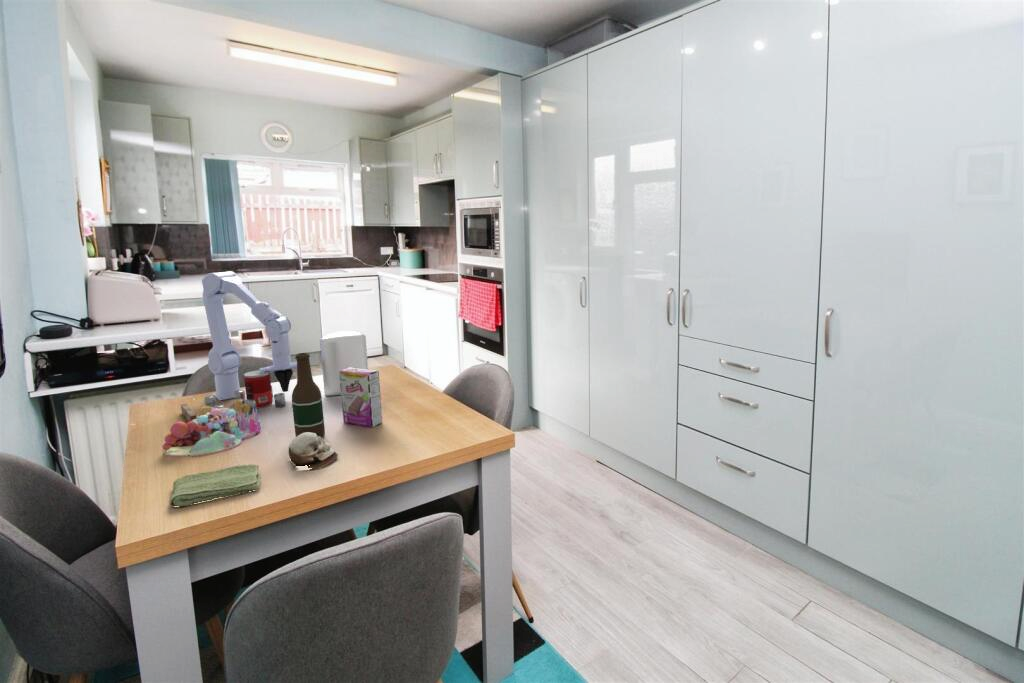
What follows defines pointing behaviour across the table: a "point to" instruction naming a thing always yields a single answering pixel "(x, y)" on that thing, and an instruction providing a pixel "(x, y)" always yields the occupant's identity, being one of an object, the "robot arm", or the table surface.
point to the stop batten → (188, 412)
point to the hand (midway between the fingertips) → (285, 391)
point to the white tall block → (341, 357)
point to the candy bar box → (361, 396)
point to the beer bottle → (307, 400)
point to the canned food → (258, 387)
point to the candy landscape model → (212, 431)
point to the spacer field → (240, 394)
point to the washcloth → (214, 484)
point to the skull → (311, 451)
